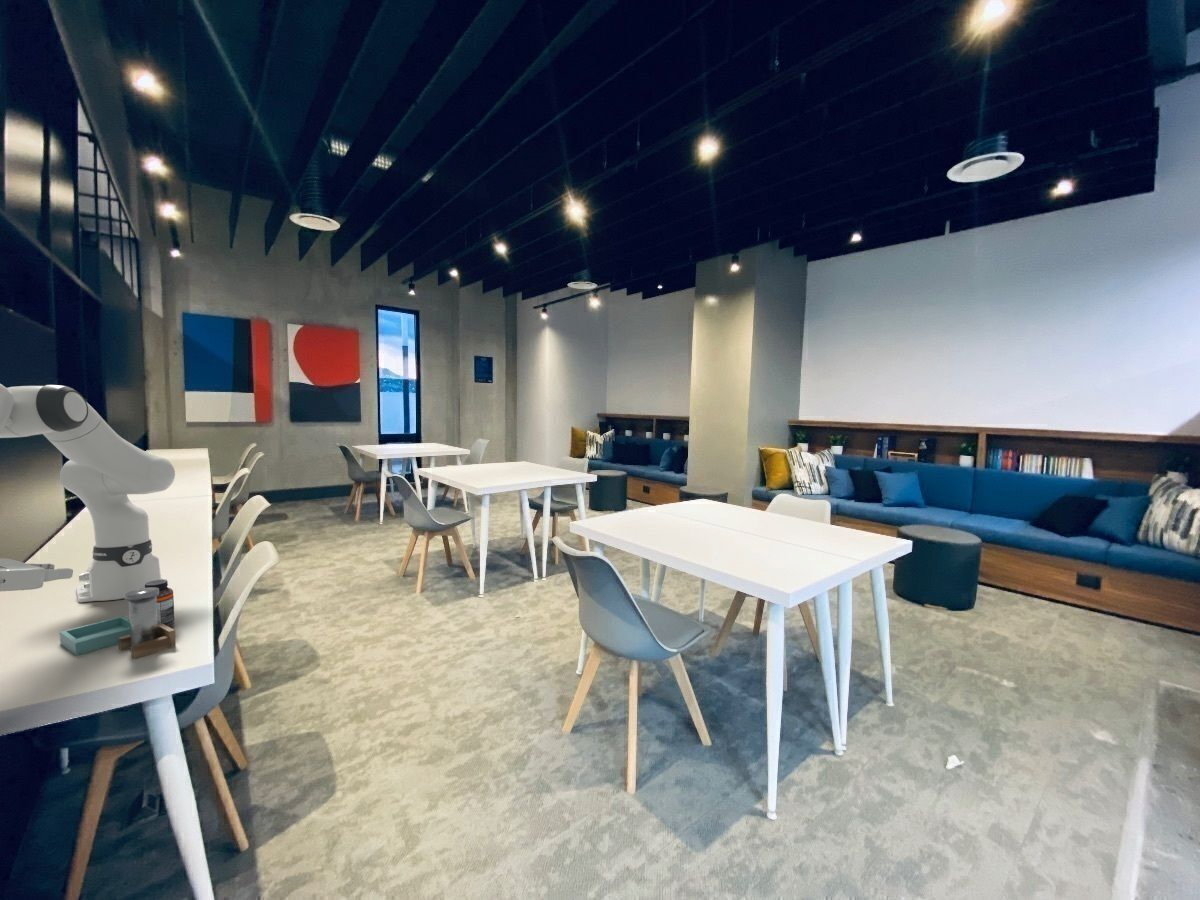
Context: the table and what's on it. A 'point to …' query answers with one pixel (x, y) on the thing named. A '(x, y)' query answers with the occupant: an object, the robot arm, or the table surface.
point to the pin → (143, 614)
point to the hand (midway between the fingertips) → (62, 570)
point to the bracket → (150, 642)
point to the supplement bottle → (163, 602)
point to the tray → (95, 635)
